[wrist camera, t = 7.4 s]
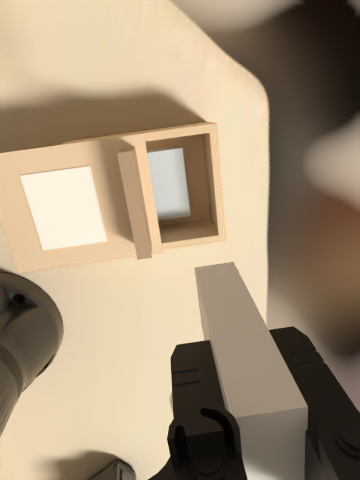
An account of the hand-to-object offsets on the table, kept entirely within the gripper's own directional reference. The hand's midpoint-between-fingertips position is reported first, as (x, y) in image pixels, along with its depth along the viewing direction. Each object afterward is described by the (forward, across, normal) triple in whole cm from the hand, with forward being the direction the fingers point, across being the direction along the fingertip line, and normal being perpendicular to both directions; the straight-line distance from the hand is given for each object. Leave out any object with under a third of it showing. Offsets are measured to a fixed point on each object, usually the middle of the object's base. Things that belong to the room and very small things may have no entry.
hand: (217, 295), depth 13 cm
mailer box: (+24, -3, 0) cm, 25 cm away
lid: (+18, -10, 0) cm, 21 cm away
